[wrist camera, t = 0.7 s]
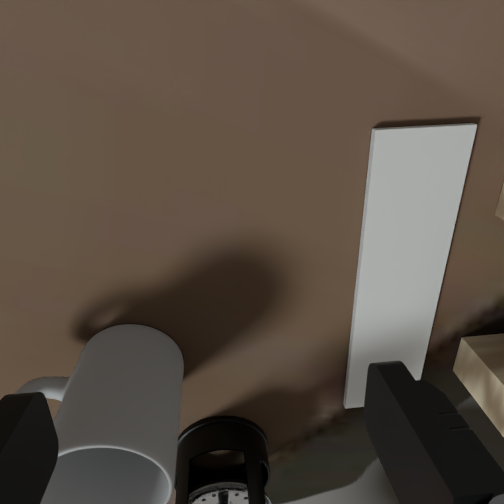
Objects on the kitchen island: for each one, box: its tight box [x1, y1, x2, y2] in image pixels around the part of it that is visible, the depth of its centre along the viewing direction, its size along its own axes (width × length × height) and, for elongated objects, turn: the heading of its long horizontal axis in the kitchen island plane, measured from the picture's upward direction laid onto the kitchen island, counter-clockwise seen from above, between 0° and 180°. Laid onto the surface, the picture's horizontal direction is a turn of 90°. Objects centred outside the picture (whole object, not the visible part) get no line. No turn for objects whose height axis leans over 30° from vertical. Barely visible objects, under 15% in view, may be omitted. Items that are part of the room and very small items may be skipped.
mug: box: [15, 324, 184, 504], centre depth 28 cm, size 12×8×11 cm
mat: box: [343, 123, 477, 409], centre depth 32 cm, size 26×7×1 cm, turn 2°
